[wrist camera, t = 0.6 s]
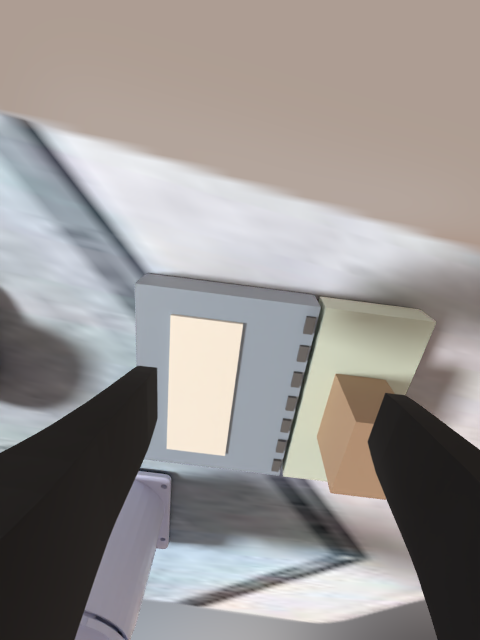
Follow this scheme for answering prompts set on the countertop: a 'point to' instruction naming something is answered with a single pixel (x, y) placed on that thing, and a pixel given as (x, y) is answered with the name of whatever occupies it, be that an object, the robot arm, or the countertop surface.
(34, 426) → the countertop surface
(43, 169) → the countertop surface
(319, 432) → the stub
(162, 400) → the board
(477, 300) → the countertop surface
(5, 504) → the robot arm
